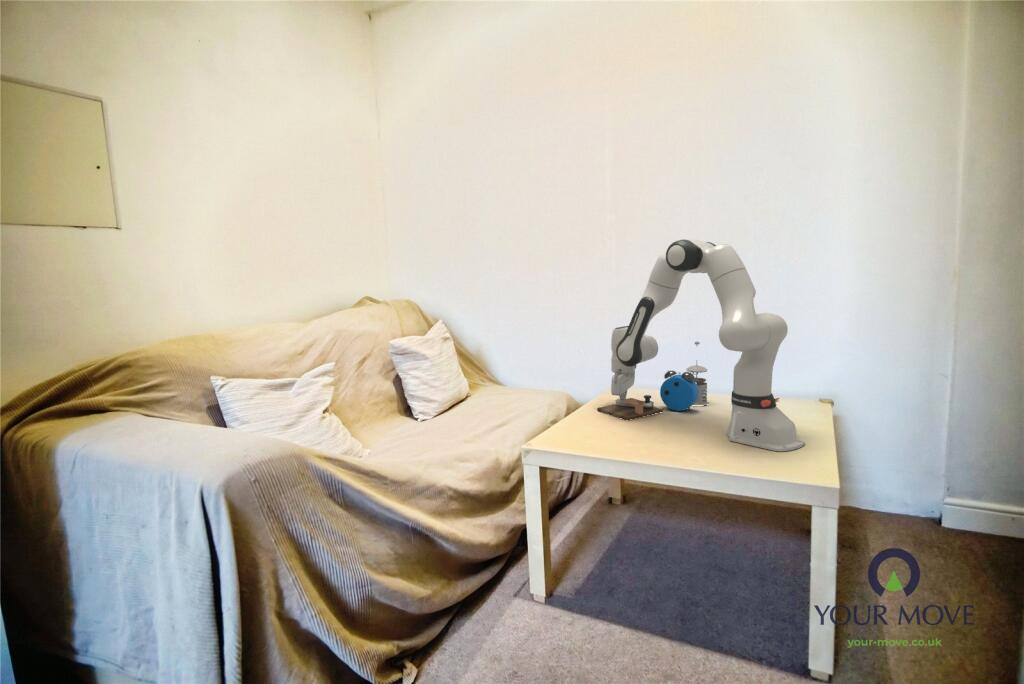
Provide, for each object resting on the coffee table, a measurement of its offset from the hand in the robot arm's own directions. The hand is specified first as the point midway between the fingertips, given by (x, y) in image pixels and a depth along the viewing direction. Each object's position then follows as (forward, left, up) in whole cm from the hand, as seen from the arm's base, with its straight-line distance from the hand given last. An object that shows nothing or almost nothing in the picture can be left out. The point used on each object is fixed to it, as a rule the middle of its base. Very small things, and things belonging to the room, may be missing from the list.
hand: (623, 401), depth 209 cm
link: (-6, 0, -1) cm, 6 cm away
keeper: (-11, +4, -1) cm, 12 cm away
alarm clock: (-16, -14, -2) cm, 21 cm away
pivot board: (-7, +3, -2) cm, 7 cm away
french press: (-13, -27, -2) cm, 30 cm away
